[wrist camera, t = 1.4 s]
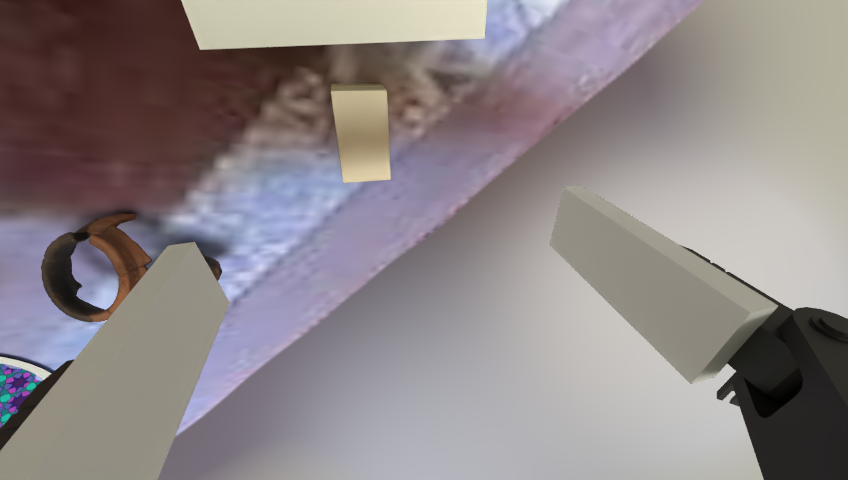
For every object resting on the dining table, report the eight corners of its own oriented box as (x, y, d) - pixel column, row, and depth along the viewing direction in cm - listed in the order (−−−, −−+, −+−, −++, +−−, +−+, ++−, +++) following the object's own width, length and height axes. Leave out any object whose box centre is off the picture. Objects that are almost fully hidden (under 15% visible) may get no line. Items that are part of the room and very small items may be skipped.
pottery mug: (147, 302, 32) (46, 339, 24) (127, 214, 31) (12, 222, 23) (254, 296, 31) (187, 332, 23) (238, 204, 30) (160, 209, 22)
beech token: (331, 83, 25) (330, 91, 21) (380, 83, 25) (386, 90, 22) (342, 166, 29) (343, 183, 25) (384, 163, 29) (390, 179, 26)
